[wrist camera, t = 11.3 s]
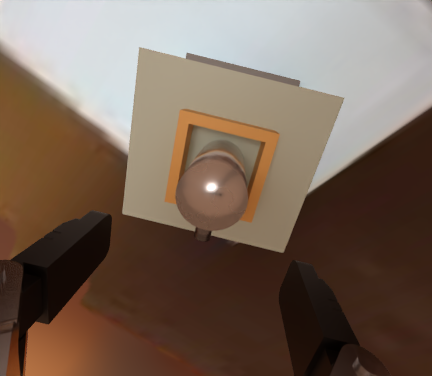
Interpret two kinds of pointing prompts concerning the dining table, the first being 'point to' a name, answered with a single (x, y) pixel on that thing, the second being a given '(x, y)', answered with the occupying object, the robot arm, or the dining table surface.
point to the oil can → (213, 189)
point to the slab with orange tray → (227, 130)
